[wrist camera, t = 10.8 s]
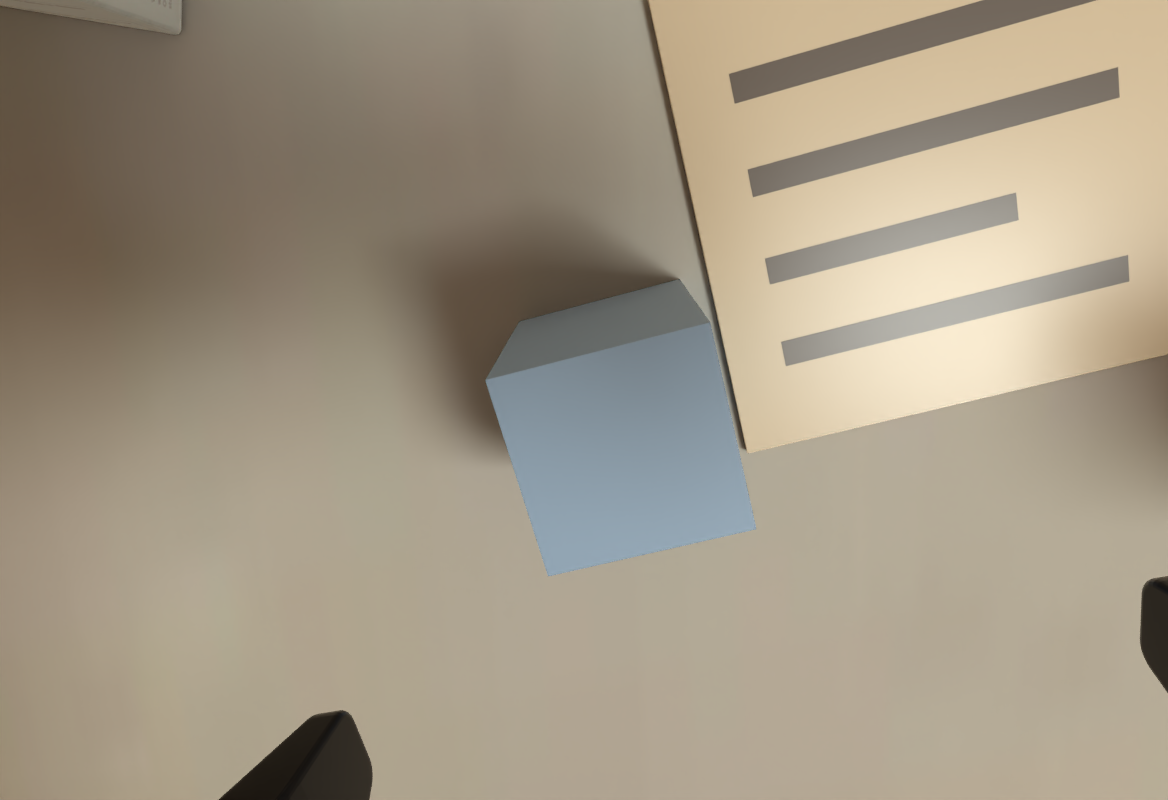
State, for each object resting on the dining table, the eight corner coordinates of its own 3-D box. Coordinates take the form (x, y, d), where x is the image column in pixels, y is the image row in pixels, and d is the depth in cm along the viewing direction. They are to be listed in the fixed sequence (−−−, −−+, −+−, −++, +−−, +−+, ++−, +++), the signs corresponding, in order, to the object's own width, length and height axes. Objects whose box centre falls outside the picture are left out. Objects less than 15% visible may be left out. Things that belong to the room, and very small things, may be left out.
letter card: (746, 450, 21) (748, 453, 21) (647, -1, 18) (647, -3, 17) (1184, 346, 20) (1192, 348, 19) (1168, -160, 16) (1177, -165, 16)
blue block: (563, 468, 21) (548, 576, 16) (519, 321, 20) (485, 380, 14) (714, 431, 21) (755, 529, 15) (679, 278, 20) (710, 322, 14)
